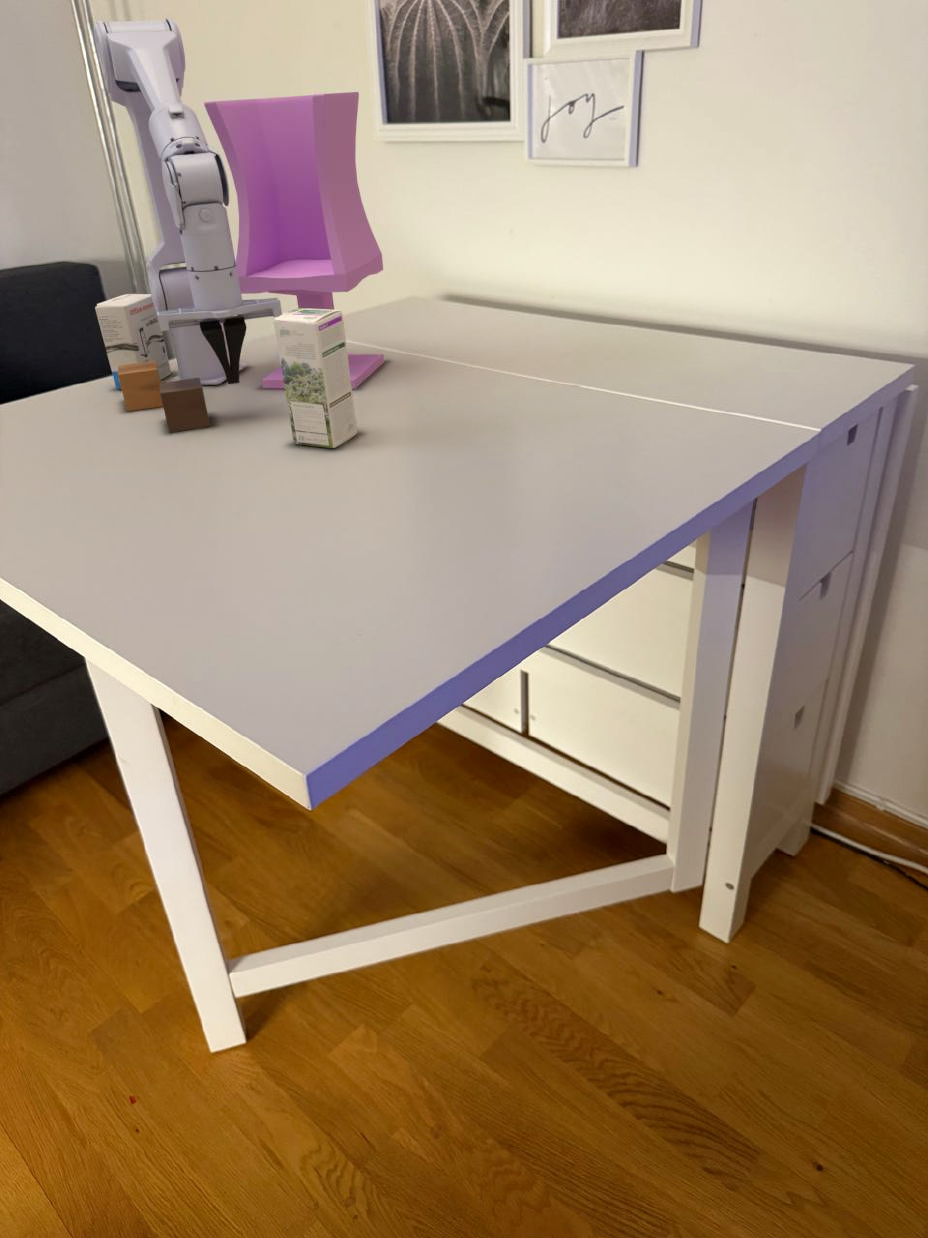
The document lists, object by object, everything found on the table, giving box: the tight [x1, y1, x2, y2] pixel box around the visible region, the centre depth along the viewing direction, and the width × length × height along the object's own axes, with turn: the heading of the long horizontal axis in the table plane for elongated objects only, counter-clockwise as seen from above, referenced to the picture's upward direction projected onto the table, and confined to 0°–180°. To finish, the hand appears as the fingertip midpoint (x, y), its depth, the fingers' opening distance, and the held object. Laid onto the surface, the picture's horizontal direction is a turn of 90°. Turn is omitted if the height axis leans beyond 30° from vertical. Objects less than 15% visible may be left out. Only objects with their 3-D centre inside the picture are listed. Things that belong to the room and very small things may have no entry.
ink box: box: [94, 293, 172, 390], centre depth 130 cm, size 9×5×12 cm, turn 168°
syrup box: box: [273, 308, 358, 449], centre depth 102 cm, size 6×6×14 cm
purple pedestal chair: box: [203, 91, 385, 390], centre depth 121 cm, size 16×16×35 cm
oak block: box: [118, 361, 163, 412], centre depth 121 cm, size 5×5×5 cm
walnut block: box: [159, 378, 211, 434], centre depth 113 cm, size 5×5×5 cm
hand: (233, 381), depth 113 cm, fingers closed
